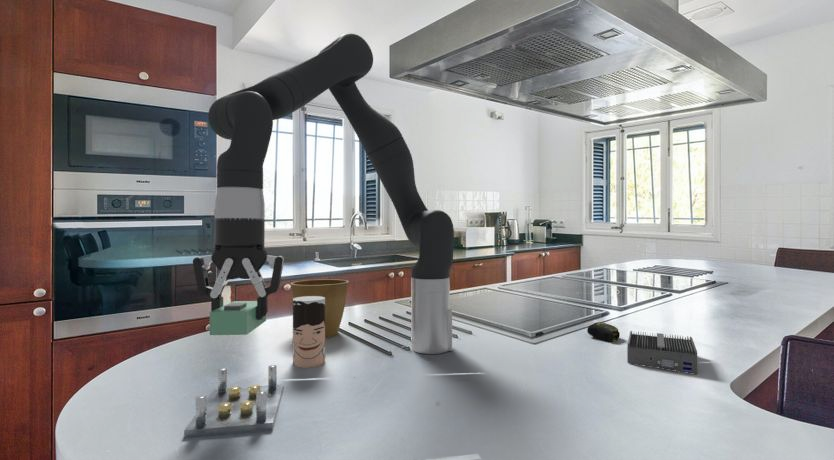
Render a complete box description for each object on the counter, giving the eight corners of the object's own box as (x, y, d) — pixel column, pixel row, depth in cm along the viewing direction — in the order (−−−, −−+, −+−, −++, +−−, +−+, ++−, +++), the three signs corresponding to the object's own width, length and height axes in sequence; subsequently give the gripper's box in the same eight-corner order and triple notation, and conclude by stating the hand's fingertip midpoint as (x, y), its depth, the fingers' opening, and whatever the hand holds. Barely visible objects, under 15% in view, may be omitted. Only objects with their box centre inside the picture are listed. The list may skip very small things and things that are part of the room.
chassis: (213, 396, 76) (213, 367, 76) (283, 390, 79) (283, 362, 79) (184, 439, 61) (184, 402, 61) (272, 430, 63) (272, 395, 63)
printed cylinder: (286, 371, 90) (286, 300, 90) (304, 362, 96) (304, 295, 96) (314, 374, 88) (314, 301, 88) (330, 364, 94) (330, 296, 94)
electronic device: (691, 356, 101) (691, 335, 101) (697, 375, 88) (697, 351, 88) (630, 349, 107) (630, 329, 107) (627, 366, 94) (627, 343, 94)
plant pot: (360, 339, 116) (359, 280, 116) (320, 352, 104) (320, 286, 104) (320, 332, 124) (320, 277, 124) (279, 343, 112) (279, 282, 112)
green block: (233, 321, 75) (234, 297, 75) (266, 320, 75) (266, 297, 75) (209, 335, 65) (209, 308, 65) (246, 334, 65) (246, 307, 65)
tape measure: (584, 336, 115) (587, 323, 114) (598, 333, 119) (601, 320, 118) (608, 346, 109) (611, 332, 109) (622, 342, 113) (625, 329, 113)
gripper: (288, 217, 75) (287, 314, 75) (199, 217, 72) (199, 317, 72) (283, 216, 68) (283, 323, 68) (184, 215, 65) (184, 326, 65)
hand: (239, 319), depth 70 cm, fingers closed on green block, 5 cm apart
